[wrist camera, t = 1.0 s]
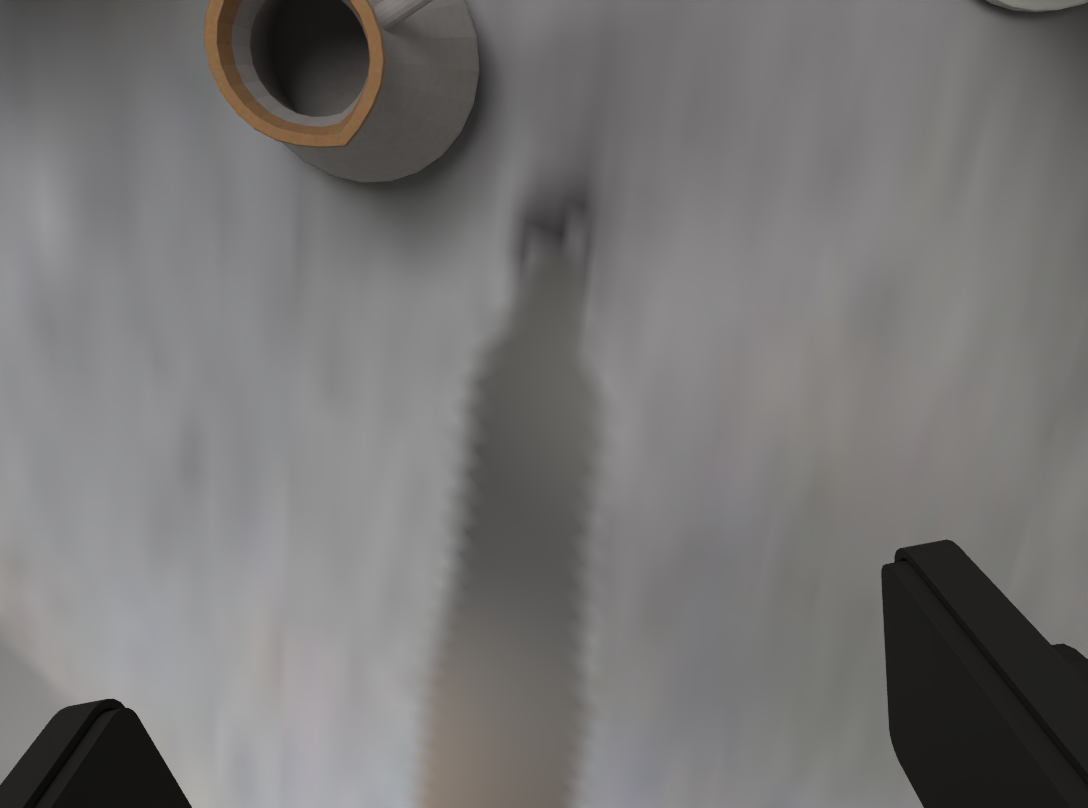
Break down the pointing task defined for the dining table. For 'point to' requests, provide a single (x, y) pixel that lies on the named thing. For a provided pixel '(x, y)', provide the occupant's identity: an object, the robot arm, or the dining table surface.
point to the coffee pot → (348, 78)
